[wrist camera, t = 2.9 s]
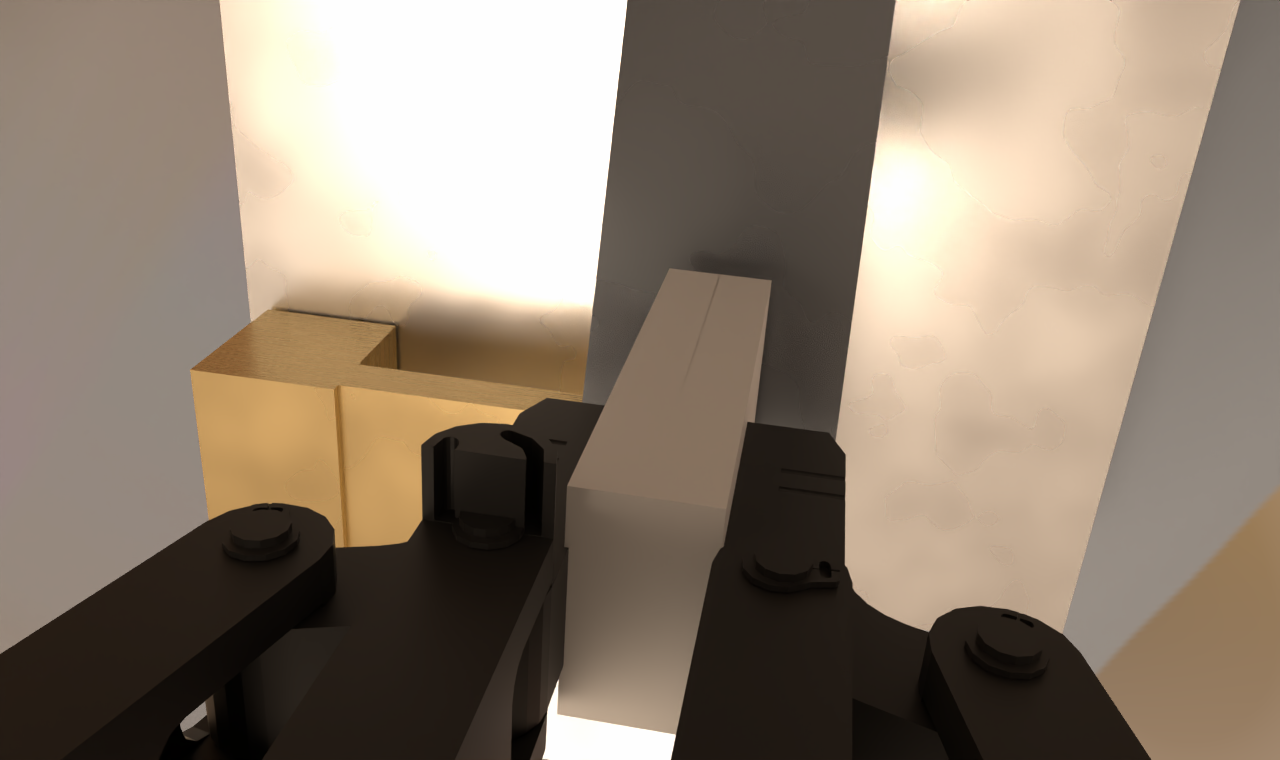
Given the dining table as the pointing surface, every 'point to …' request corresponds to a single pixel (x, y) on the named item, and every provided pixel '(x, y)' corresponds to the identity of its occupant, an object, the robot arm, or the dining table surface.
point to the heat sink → (890, 258)
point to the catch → (332, 422)
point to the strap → (737, 207)
